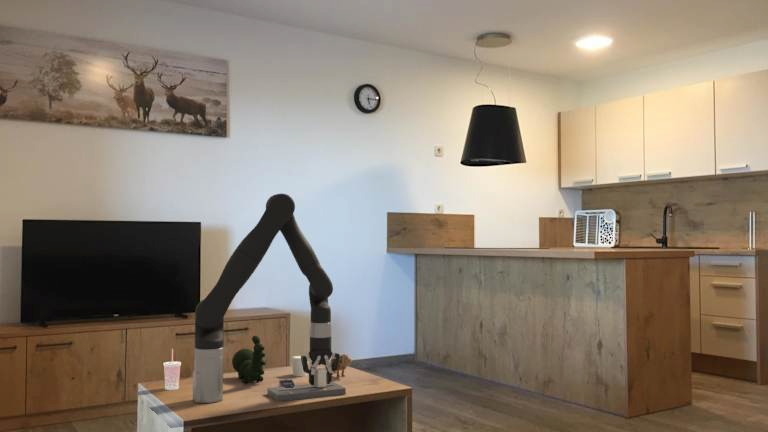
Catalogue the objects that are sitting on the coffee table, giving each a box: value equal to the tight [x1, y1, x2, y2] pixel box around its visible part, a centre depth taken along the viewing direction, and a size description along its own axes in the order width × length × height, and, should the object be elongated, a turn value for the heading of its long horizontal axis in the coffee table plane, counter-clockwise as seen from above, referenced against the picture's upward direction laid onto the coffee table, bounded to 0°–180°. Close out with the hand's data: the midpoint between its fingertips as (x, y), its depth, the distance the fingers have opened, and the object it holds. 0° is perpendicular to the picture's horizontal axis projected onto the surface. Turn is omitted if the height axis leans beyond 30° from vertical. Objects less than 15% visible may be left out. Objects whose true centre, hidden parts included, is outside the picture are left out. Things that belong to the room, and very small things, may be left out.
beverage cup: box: [163, 348, 182, 391], centre depth 236 cm, size 6×6×14 cm
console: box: [266, 381, 347, 403], centre depth 228 cm, size 24×12×2 cm, turn 117°
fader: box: [314, 366, 327, 387], centre depth 230 cm, size 3×4×8 cm
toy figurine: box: [231, 335, 266, 384], centre depth 250 cm, size 9×19×25 cm
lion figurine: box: [329, 353, 353, 379], centre depth 260 cm, size 15×5×9 cm, turn 37°
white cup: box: [291, 355, 310, 377], centre depth 261 cm, size 7×7×7 cm
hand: (320, 384), depth 230 cm, fingers open, 5 cm apart
